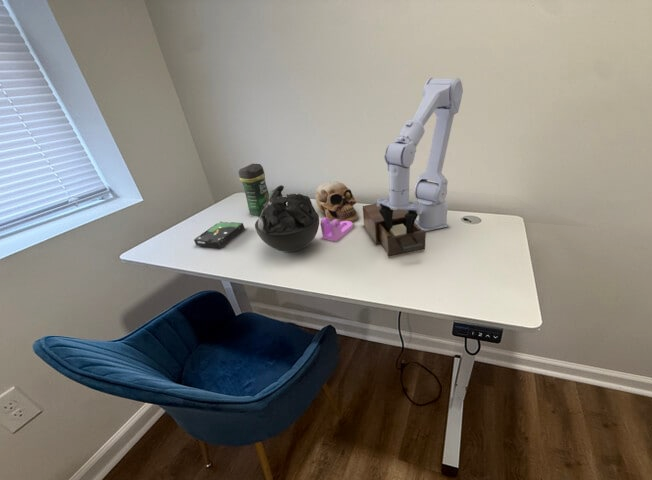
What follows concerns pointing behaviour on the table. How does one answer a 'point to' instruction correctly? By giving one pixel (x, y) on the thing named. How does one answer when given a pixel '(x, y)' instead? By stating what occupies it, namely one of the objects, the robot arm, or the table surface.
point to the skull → (336, 201)
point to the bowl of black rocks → (287, 221)
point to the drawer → (401, 239)
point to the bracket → (334, 228)
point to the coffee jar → (254, 187)
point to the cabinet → (378, 219)
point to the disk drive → (219, 234)
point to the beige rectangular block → (397, 230)
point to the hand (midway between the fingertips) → (399, 231)
